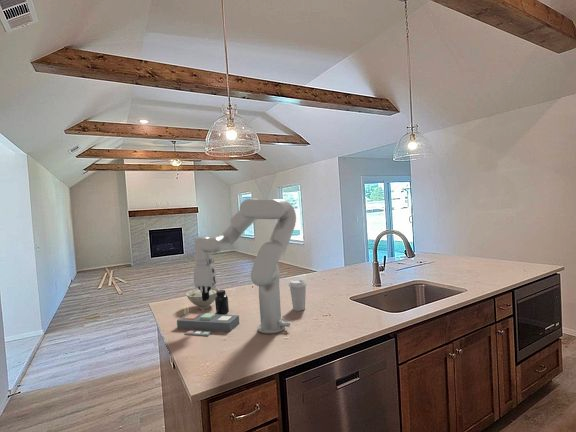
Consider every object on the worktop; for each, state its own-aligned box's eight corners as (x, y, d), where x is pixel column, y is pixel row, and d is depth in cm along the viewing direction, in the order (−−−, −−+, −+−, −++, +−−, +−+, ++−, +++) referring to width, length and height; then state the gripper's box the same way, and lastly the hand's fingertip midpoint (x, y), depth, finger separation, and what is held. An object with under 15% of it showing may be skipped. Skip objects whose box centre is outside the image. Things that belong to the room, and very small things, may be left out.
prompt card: (212, 332, 146) (212, 331, 146) (207, 336, 143) (207, 334, 143) (189, 331, 150) (189, 329, 150) (184, 334, 146) (184, 333, 146)
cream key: (232, 322, 154) (232, 316, 154) (227, 326, 149) (227, 320, 149) (222, 321, 155) (222, 315, 155) (217, 326, 151) (217, 319, 150)
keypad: (239, 323, 156) (238, 315, 156) (230, 331, 146) (229, 323, 146) (189, 320, 164) (188, 313, 163) (177, 328, 154) (176, 320, 154)
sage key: (215, 319, 157) (215, 313, 156) (210, 323, 152) (209, 317, 151) (206, 319, 158) (205, 313, 158) (200, 323, 153) (200, 316, 153)
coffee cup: (306, 311, 166) (305, 283, 166) (288, 311, 168) (287, 283, 168) (309, 305, 176) (307, 278, 175) (292, 305, 178) (290, 279, 177)
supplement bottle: (223, 309, 177) (221, 288, 177) (231, 312, 173) (230, 290, 173) (213, 313, 172) (211, 291, 172) (221, 316, 168) (219, 293, 167)
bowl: (179, 310, 181) (178, 293, 180) (203, 300, 198) (202, 284, 197) (205, 314, 172) (204, 296, 171) (228, 303, 189) (226, 286, 188)
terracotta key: (199, 320, 159) (199, 314, 159) (193, 324, 154) (193, 318, 154) (190, 320, 161) (190, 314, 160) (184, 324, 156) (184, 318, 155)
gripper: (221, 261, 155) (223, 298, 156) (194, 260, 159) (196, 297, 160) (213, 264, 148) (215, 303, 149) (185, 263, 152) (187, 301, 153)
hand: (205, 299), depth 154 cm, fingers closed
